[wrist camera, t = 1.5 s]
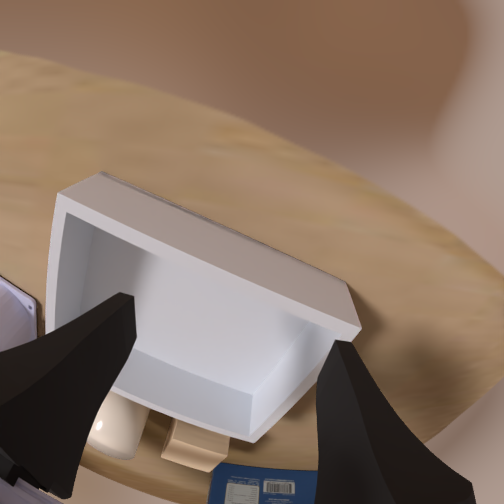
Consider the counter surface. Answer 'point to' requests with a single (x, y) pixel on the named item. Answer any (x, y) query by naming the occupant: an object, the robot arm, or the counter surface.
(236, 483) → the protein box
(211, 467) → the maple cube
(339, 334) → the box
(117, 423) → the cream cylinder
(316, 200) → the counter surface
